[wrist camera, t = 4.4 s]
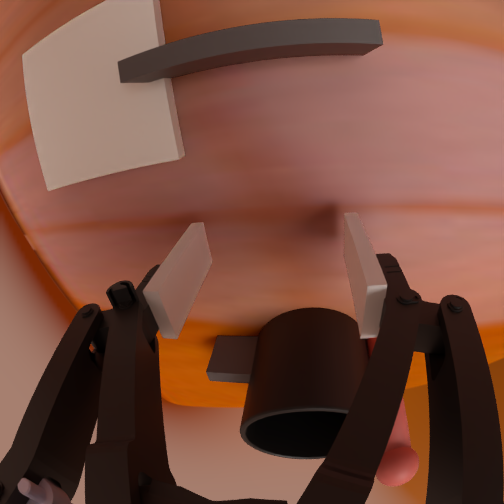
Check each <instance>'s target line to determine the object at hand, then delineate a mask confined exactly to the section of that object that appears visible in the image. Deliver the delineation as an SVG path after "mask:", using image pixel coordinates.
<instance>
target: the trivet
mask: <svg viewBox="0 0 504 504" xmlns="http://www.w3.org/2000/svg"><path fill="white" fill-rule="evenodd" d="M162 45H165V37H164V30H163V23H162V16H161V8H160V0H106V1H104V2H102V3H100V4H98V5H96V6H94V7H93V8H91V9H89V10H87V11H85V12H84V13H82V14H80V15H79V16H77V17H75V18H74V19H72V20H70V21H69V22H67V23H66V24H64V25H62V26H61V27H59V28H58V29H56V30H55V31H53V32H52V33H51V34H49V35H48V36H46V37H45V38H43V39H42V40H41V41H39V42H38V43H37V44H35V45H34V46H33V47H31V48H30V49H29V50H28V51H26V52H25V53H24V54H23V55H22V62H23V73H24V83H25V91H26V98H27V104H28V111H29V116H30V122H31V127H32V132H33V136H34V141H35V145H36V150H37V154H38V158H39V162H40V165H41V169H42V173H43V176H44V180H45V183H46V186H47V190H48V191H51V190H54V189H57V188H61V187H64V186H67V185H71V184H74V183H78V182H81V181H85V180H89V179H93V178H96V177H100V176H104V175H108V174H112V173H117V172H121V171H125V170H130V169H134V168H139V167H143V166H148V165H153V164H158V163H163V162H169V161H174V160H179V159H181V158H183V157H184V156H185V152H184V147H183V142H182V137H181V131H180V126H179V121H178V116H177V110H176V105H175V99H174V93H173V88H172V82H171V78H162V79H159V80H156V81H152V82H149V83H120V76H119V70H118V63H117V62H118V61H121V60H123V59H125V58H128V57H131V56H133V55H136V54H139V53H141V52H144V51H147V50H150V49H153V48H156V47H159V46H162Z"/></svg>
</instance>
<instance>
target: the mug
mask: <svg viewBox="0 0 504 504" xmlns="http://www.w3.org/2000/svg"><path fill="white" fill-rule="evenodd" d="M368 362H369V356H368V350H367V344H366V339H365V338H362V339H360V333H359V327H358V323H357V322H356V321H355V320H354V319H352V318H351V317H349V316H348V315H346V314H343V313H341V312H339V311H335V310H331V309H325V308H303V309H297V310H293V311H289V312H286V313H284V314H281V315H279V316H277V317H276V318H274V319H272V320H271V321H270V322H268V323H267V324H266V325H265V326H264V327H263V329H262V330H261V331H260V333H259V335H258V339H257V345H256V350H255V356H254V361H253V366H252V372H251V376H250V380H249V385H248V390H247V395H246V401H245V406H244V411H243V416H242V421H241V426H240V434H241V437H242V439H243V440H244V441H245V442H246V443H247V444H248V445H250V446H251V447H253V448H255V449H257V450H259V451H261V452H264V453H267V454H270V455H274V456H279V457H285V458H292V459H320V458H326V457H327V455H328V453H329V451H330V449H331V447H332V445H333V443H334V441H335V439H336V437H337V435H338V433H339V431H340V429H341V427H342V424H343V422H344V420H345V418H346V416H347V414H348V411H349V409H350V407H351V405H352V402H353V400H354V398H355V395H356V393H357V390H358V388H359V385H360V383H361V380H362V378H363V375H364V373H365V370H366V367H367V365H368Z"/></svg>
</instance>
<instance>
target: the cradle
mask: <svg viewBox="0 0 504 504" xmlns="http://www.w3.org/2000/svg"><path fill="white" fill-rule="evenodd" d="M381 45H383V40H382V34H381V29H380V23H379V20H369V19H348V18H320V19H298V20H285V21H275V22H266V23H259V24H252V25H245V26H239V27H234V28H228V29H223V30H218V31H214V32H209V33H205V34H201V35H197V36H193V37H189V38H185V39H182V40H178V41H175V42H171V43H168V44H165V45H162V46H159V47H156V48H153V49H150V50H147V51H144V52H141V53H139V54H136V55H133V56H131V57H128V58H125V59H123V60H121V61H118V62H117V63H118V70H119V76H120V83H149V82H152V81H156V80H159V79H162V78H174V77H178V76H182V75H186V74H190V73H194V72H199V71H203V70H208V69H212V68H217V67H223V66H228V65H234V64H240V63H246V62H253V61H260V60H268V59H277V58H287V57H300V56H319V55H365V54H367V53H368V52H370V51H372V50H374V49H376V48H378V47H379V46H381ZM379 330H380V329H379ZM257 339H258V336H217V339H216V342H215V345H214V349H213V352H212V355H211V358H210V361H209V364H208V367H207V371H206V373H207V375H208V377H209V380H210V381H221V382H236V383H249V380H250V376H251V372H252V366H253V361H254V356H255V350H256V345H257ZM376 339H377V337H375V338H366V344H367V350H368V356H369V359H370V357H371V354H372V351H373V348H374V345H375V342H376ZM418 466H419V458H418V455H417V453H416V452H415V451H414V450H413V449H412V448H411V444H410V437H409V430H408V423H407V417H406V412H405V406H404V400H403V397H402V401H401V404H400V408H399V411H398V414H397V417H396V421H395V424H394V427H393V430H392V433H391V436H390V438H389V441H388V444H387V447H386V449H385V452H384V455H383V457H382V460H381V462H380V465H379V467H378V469H377V472H376V477H377V479H378V480H379V481H380V482H381V483H382V484H385V485H387V486H399V485H402V484H404V483H406V482H407V481H409V480H410V479H411V478H412V477H413V476H414V475H415V473H416V472H417V470H418Z"/></svg>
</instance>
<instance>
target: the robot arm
mask: <svg viewBox="0 0 504 504" xmlns="http://www.w3.org/2000/svg"><path fill="white" fill-rule="evenodd" d="M344 259H345V263H346V268H347V272H348V277H349V281H350V286H351V291H352V296H353V301H354V306H355V311H356V316H357V322H358V327H359V333H360V339H362V338H375V337H377V339H376V342H375V345H374V348H373V351H372V354H371V357H370V359H369V362H368V365H367V367H366V370H365V373H364V375H363V378H362V380H361V383H360V385H359V388H358V390H357V393H356V395H355V398H354V400H353V402H352V405H351V407H350V409H349V411H348V414H347V416H346V418H345V420H344V422H343V424H342V427H341V429H340V431H339V433H338V435H337V437H336V439H335V441H334V443H333V445H332V447H331V449H330V451H329V453H328V455H327V457H326V458H325V460H324V462H323V463H322V464H321V466H320V467H319V468H318V470H317V471H316V473H315V474H314V476H313V478H312V480H311V481H310V483H309V485H308V486H307V488H306V490H305V491H304V493H303V495H302V496H301V498H300V499H299V501H298V502H297V504H365V502H366V500H367V498H368V496H369V493H370V491H371V489H372V486H373V483H374V477H375V474H376V472H377V469H378V467H379V465H380V462H381V460H382V457H383V455H384V452H385V449H386V447H387V444H388V441H389V438H390V436H391V433H392V430H393V427H394V424H395V421H396V417H397V414H398V411H399V408H400V404H401V401H402V397H403V393H404V390H405V386H406V382H407V378H408V374H409V370H410V366H411V361H412V357H413V352H414V351H416V352H423V353H425V361H426V370H427V381H428V395H429V418H430V451H429V452H430V453H429V473H428V486H427V496H426V504H504V502H503V483H504V482H503V455H502V442H501V432H500V424H499V417H498V410H497V404H496V399H495V394H494V388H493V384H492V379H491V375H490V370H489V366H488V362H487V358H486V355H485V351H484V348H483V344H482V341H481V337H480V334H479V331H478V328H477V325H476V322H475V319H474V316H473V313H472V310H471V307H470V305H469V303H468V302H467V301H466V300H465V299H464V298H462V297H460V296H458V295H447V296H445V297H443V298H442V300H441V302H440V304H437V303H430V302H425V301H422V299H421V296H420V295H419V294H418V293H417V292H416V291H414V290H411V289H410V287H409V285H408V283H407V281H406V278H405V276H404V274H403V272H402V270H401V268H400V267H399V264H398V262H397V260H396V258H394V257H393V256H392V255H391V254H389V253H387V254H375V252H374V249H373V247H372V244H371V242H370V240H369V237H368V235H367V233H366V230H365V228H364V226H363V224H362V221H361V219H360V217H359V215H358V213H357V212H353V213H344ZM212 262H213V261H212V257H211V253H210V249H209V244H208V240H207V236H206V231H205V227H204V223H203V222H198V223H191V224H190V226H189V227H188V228H187V230H186V231H185V232H184V234H183V235H182V236H181V238H180V239H179V240H178V242H177V243H176V245H175V246H174V247H173V249H172V250H171V251H170V253H169V254H168V256H167V257H166V258H165V260H164V261H163V263H162V264H161V265H156V266H155V267H153V268H152V269H151V270H149V272H148V273H147V275H146V276H145V277H144V279H143V280H142V282H141V283H140V284H139V286H138V287H137V288H136V290H135V289H134V286H133V284H132V282H130V281H120V282H117V283H115V284H113V285H112V286H111V287H110V288H108V290H107V292H106V294H107V296H108V298H109V300H110V302H111V304H112V306H113V309H110V310H105V311H101V309H100V307H99V305H97V304H93V303H92V304H88V305H85V306H83V307H82V308H81V309H80V310H79V311H78V312H77V314H76V316H75V317H74V319H73V320H72V322H71V324H70V326H69V327H68V329H67V331H66V333H65V334H64V336H63V338H62V339H61V341H60V343H59V345H58V347H57V348H56V350H55V352H54V354H53V356H52V358H51V360H50V362H49V364H48V365H47V368H46V369H45V371H44V374H43V375H42V377H41V379H40V381H39V383H38V386H37V388H36V390H35V392H34V394H33V396H32V398H31V400H30V403H29V405H28V407H27V410H26V412H25V414H24V416H23V419H22V421H21V424H20V426H19V429H18V431H17V434H16V436H15V439H14V442H13V444H12V447H11V449H10V450H9V452H8V453H7V454H6V456H5V457H4V459H3V460H2V461H1V463H0V504H72V503H71V500H72V498H73V496H74V495H75V492H76V490H77V487H78V485H79V481H80V478H81V475H82V471H83V467H84V463H85V503H86V504H287V501H282V500H264V499H252V498H250V499H239V500H228V501H211V500H209V499H206V498H204V497H202V496H200V495H198V494H195V493H193V492H191V491H189V490H187V489H185V488H183V487H180V486H177V485H176V482H175V479H174V477H173V475H172V473H171V471H170V469H169V464H168V457H167V450H166V441H165V432H164V423H163V412H162V401H161V387H160V369H159V345H158V339H157V337H156V333H157V331H158V330H160V333H161V335H162V337H163V338H172V339H178V336H179V334H180V332H181V330H182V327H183V325H184V323H185V321H186V319H187V316H188V314H189V312H190V310H191V308H192V305H193V303H194V301H195V299H196V297H197V294H198V292H199V290H200V288H201V286H202V284H203V282H204V279H205V277H206V275H207V273H208V271H209V269H210V267H211V265H212ZM379 329H380V330H379ZM90 344H92V346H93V347H94V350H93V352H91V351H90V349H89V346H90ZM97 418H98V424H97V440H96V442H95V443H94V444H90V441H91V438H92V434H93V431H94V428H95V424H96V421H97Z"/></svg>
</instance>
